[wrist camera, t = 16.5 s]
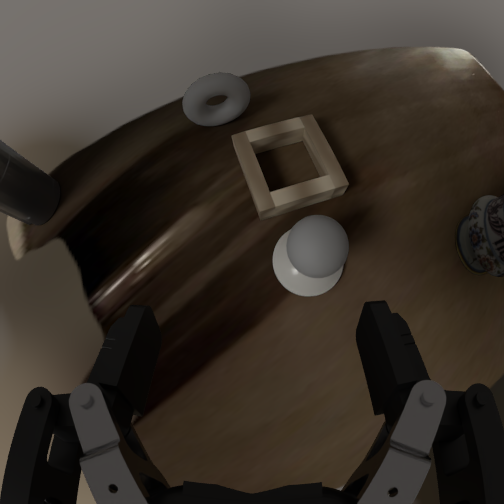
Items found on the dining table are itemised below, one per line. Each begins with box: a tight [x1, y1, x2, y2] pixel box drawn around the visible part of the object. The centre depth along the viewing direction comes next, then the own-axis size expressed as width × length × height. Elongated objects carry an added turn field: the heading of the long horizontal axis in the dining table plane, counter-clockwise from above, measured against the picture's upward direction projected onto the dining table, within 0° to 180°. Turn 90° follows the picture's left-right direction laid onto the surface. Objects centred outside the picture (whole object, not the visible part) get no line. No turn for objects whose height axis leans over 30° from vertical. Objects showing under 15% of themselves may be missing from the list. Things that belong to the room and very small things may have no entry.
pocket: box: [232, 114, 349, 221], centre depth 37 cm, size 12×12×4 cm
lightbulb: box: [286, 215, 349, 278], centre depth 29 cm, size 6×6×11 cm
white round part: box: [273, 230, 343, 297], centre depth 35 cm, size 9×9×1 cm
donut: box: [182, 73, 250, 126], centre depth 36 cm, size 10×4×10 cm, turn 107°
